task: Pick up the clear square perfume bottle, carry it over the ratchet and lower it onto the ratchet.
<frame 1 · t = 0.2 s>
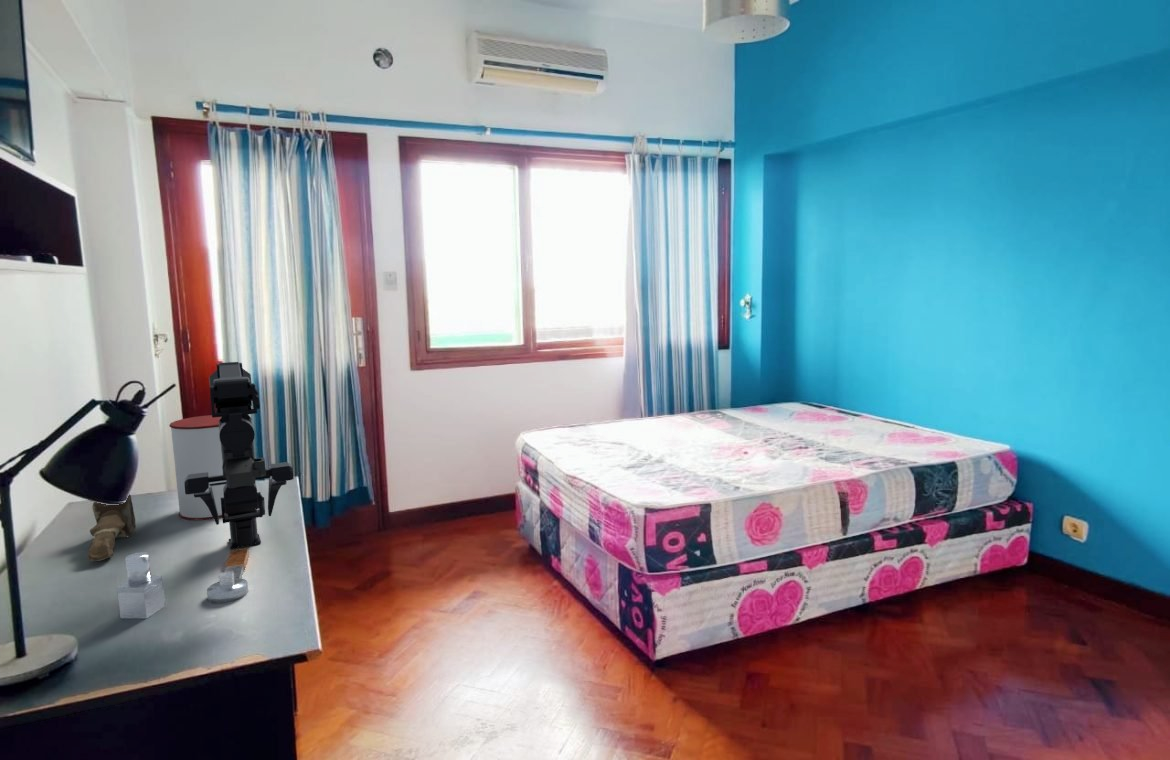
hand: (244, 519, 131), 14 cm above the table, tool pointing down, fingers open, 9 cm apart
container: (215, 510, 181), on the table
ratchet: (228, 595, 130), on the table
brown boot: (110, 549, 155), on the table
clear square perfume bottle: (143, 611, 123), on the table
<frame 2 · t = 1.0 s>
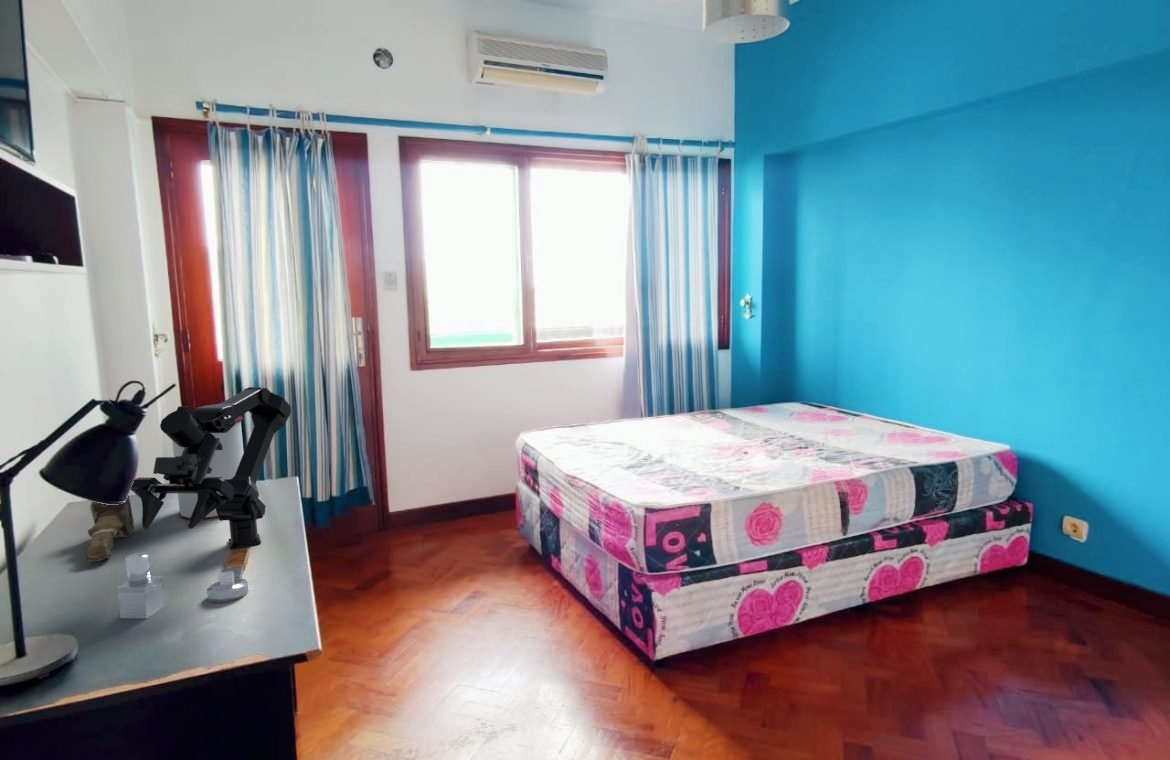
hand: (167, 528, 130), 13 cm above the table, tool tilted 45°, fingers open, 9 cm apart
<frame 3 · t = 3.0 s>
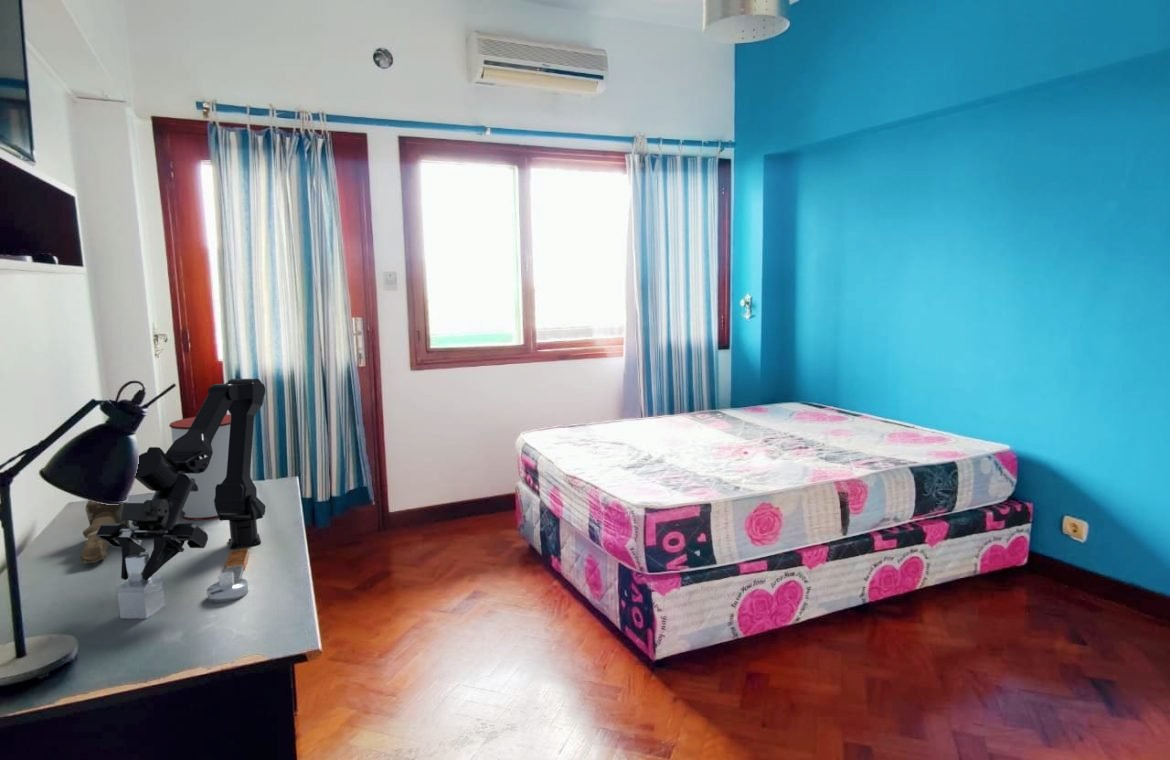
hand: (133, 579, 121), 7 cm above the table, tool tilted 45°, fingers closed on clear square perfume bottle, 4 cm apart
clear square perfume bottle: (143, 611, 123), on the table, touching gripper
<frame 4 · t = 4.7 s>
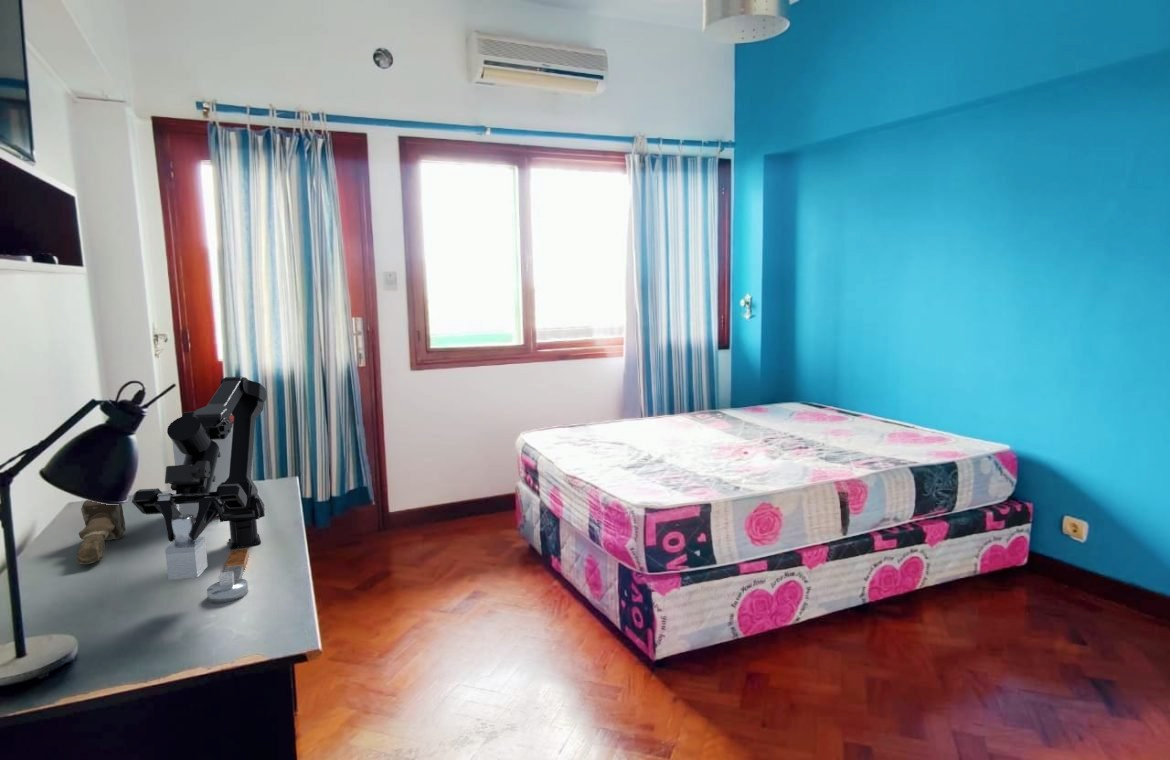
hand: (181, 540, 123), 13 cm above the table, tool tilted 45°, fingers closed on clear square perfume bottle, 4 cm apart
clear square perfume bottle: (188, 572, 125), point 6 cm above the table, touching gripper
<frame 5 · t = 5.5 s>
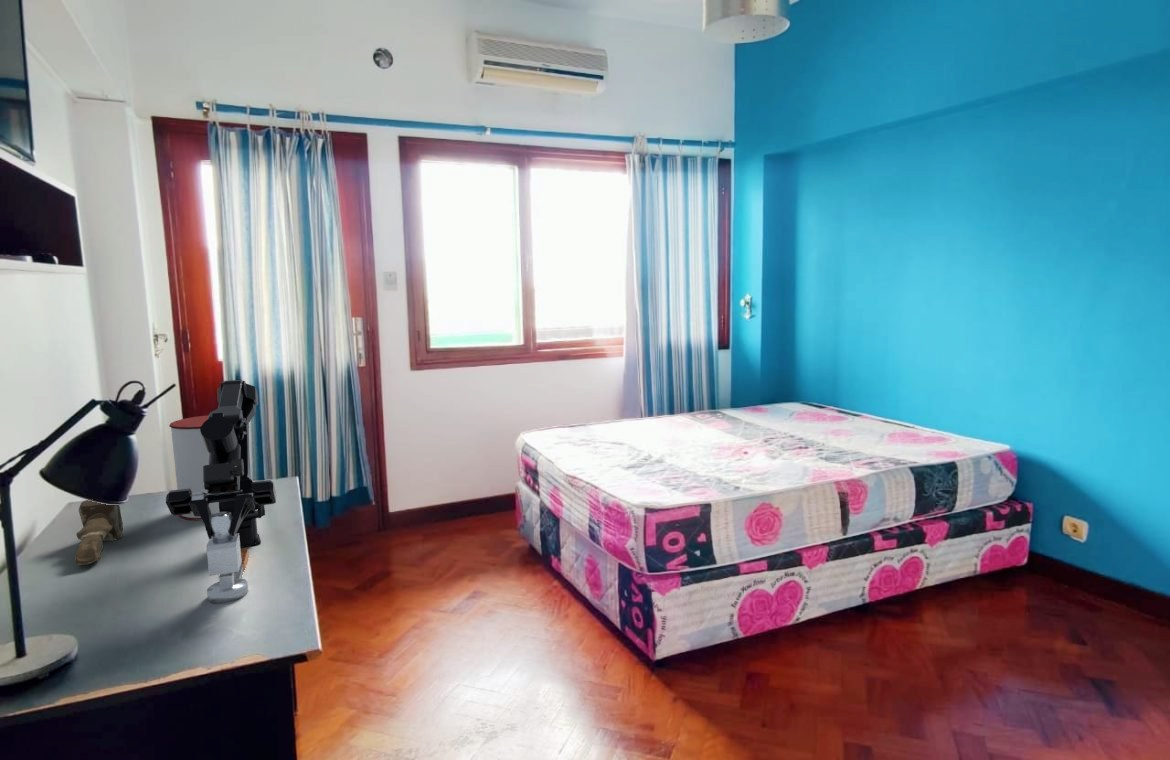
hand: (221, 536, 127), 13 cm above the table, tool tilted 45°, fingers closed on clear square perfume bottle, 4 cm apart
clear square perfume bottle: (225, 568, 129), point 5 cm above the table, touching gripper
when the fingers open (10 cm above the table, at t = 6.3 s): clear square perfume bottle stays where it is, resting on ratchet.
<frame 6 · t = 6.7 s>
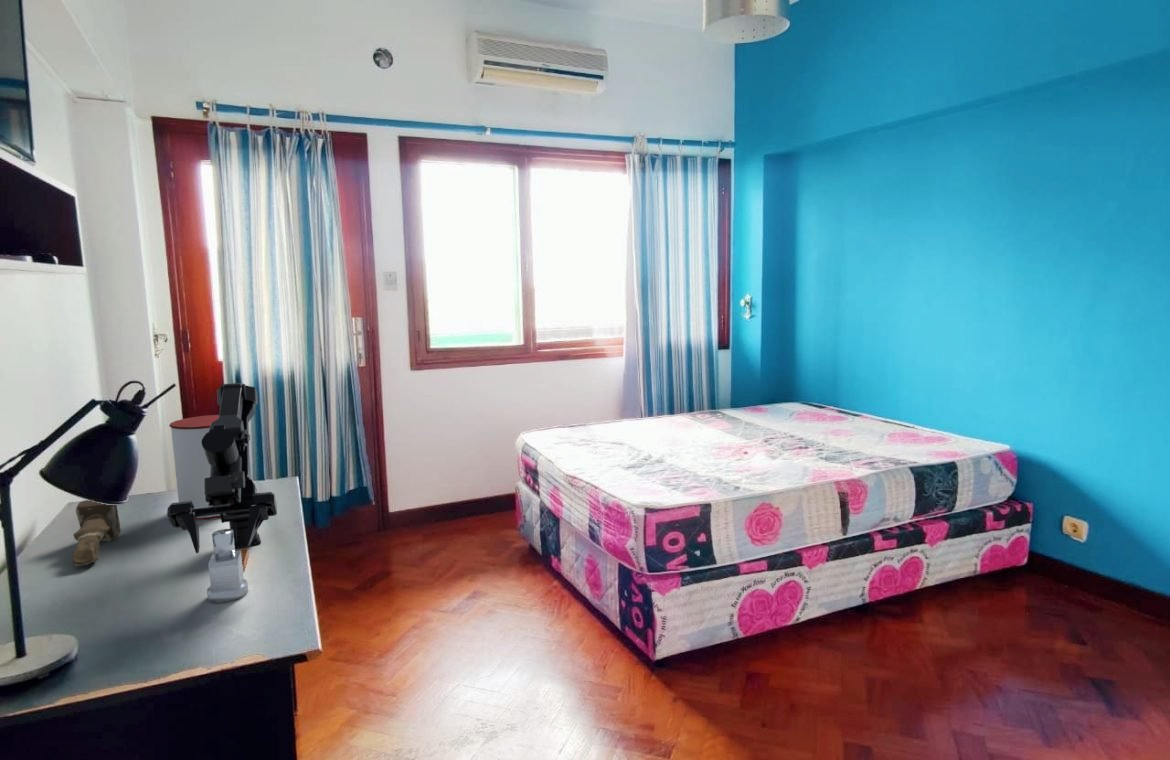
hand: (222, 548, 127), 10 cm above the table, tool tilted 45°, fingers open, 8 cm apart
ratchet: (228, 595, 130), on the table, touching clear square perfume bottle
clear square perfume bottle: (227, 585, 129), point 2 cm above the table, touching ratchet
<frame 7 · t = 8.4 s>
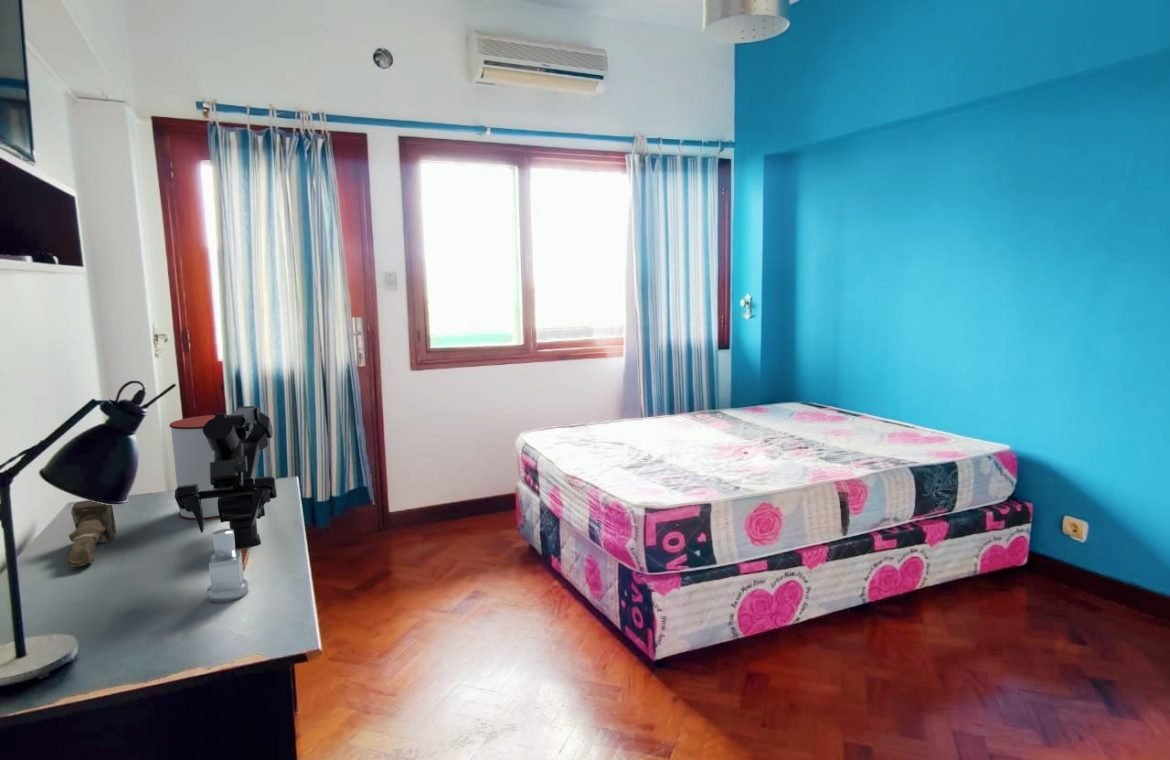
hand: (227, 528, 136), 11 cm above the table, tool tilted 45°, fingers open, 9 cm apart
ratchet: (228, 595, 130), on the table
clear square perfume bottle: (228, 585, 129), point 2 cm above the table
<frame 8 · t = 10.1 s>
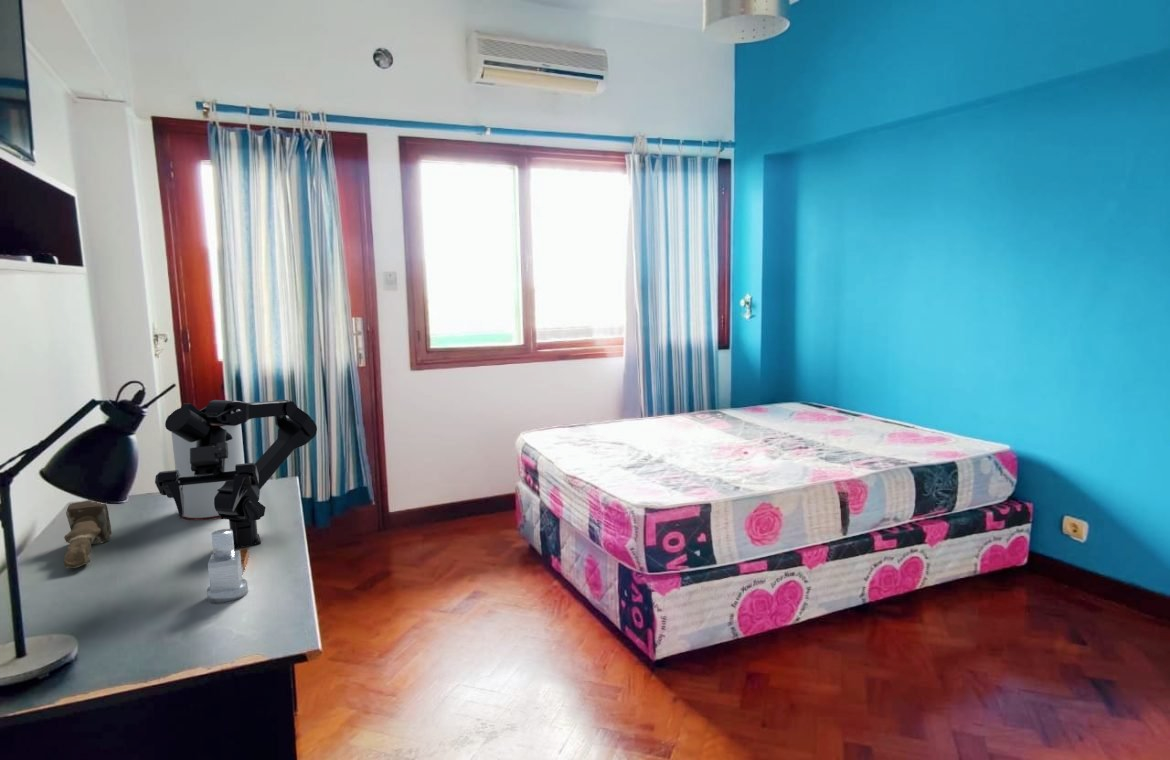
hand: (206, 514, 136), 14 cm above the table, tool tilted 45°, fingers open, 9 cm apart
at the end: clear square perfume bottle 0.2 cm off-centre on the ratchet, point 2.0 cm above the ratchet's base; clear square perfume bottle tilted 0°; the gripper is holding nothing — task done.
